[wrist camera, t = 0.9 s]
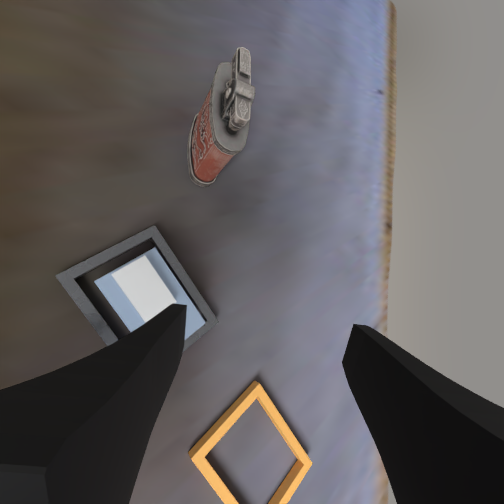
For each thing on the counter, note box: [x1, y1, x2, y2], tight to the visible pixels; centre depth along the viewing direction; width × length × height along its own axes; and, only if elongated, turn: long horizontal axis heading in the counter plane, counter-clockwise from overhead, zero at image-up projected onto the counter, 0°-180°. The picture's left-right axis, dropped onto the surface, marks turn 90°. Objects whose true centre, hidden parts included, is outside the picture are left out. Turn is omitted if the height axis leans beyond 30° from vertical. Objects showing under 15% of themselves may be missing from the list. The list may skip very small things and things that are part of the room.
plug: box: [94, 248, 205, 340], centre depth 20 cm, size 4×7×5 cm, turn 36°
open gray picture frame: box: [55, 225, 219, 351], centre depth 22 cm, size 8×11×1 cm
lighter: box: [187, 47, 255, 187], centre depth 23 cm, size 8×3×10 cm, turn 179°
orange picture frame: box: [188, 381, 313, 504], centre depth 24 cm, size 8×11×1 cm
